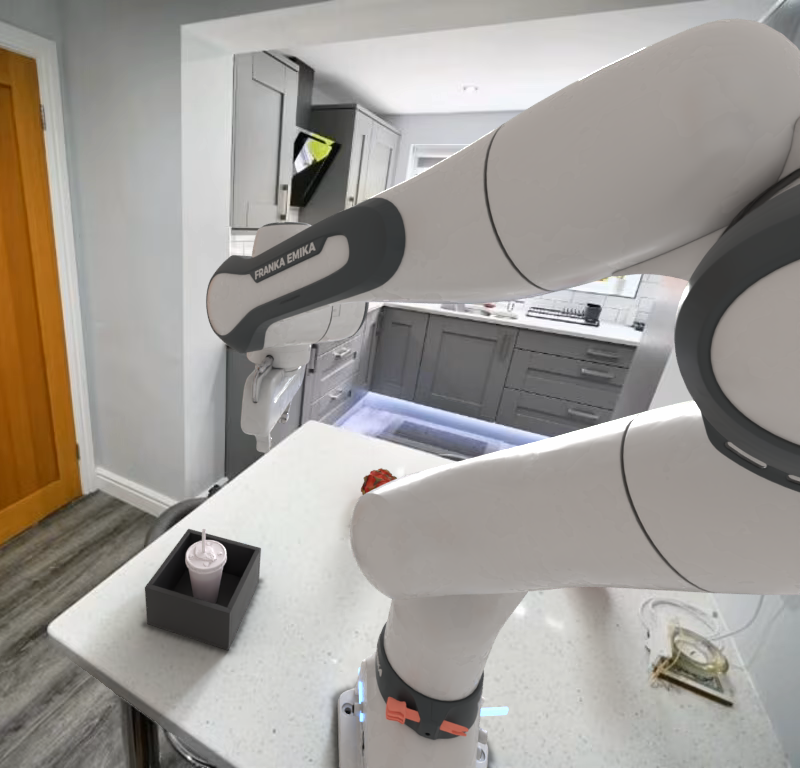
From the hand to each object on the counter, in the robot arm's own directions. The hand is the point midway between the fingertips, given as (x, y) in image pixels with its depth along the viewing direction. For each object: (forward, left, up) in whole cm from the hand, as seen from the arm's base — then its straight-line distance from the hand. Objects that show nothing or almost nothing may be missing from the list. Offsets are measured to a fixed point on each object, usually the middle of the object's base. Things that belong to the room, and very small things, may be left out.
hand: (273, 434), depth 65 cm
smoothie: (-7, +8, -29) cm, 31 cm away
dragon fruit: (+30, -17, -30) cm, 46 cm away
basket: (-7, +8, -30) cm, 31 cm away
